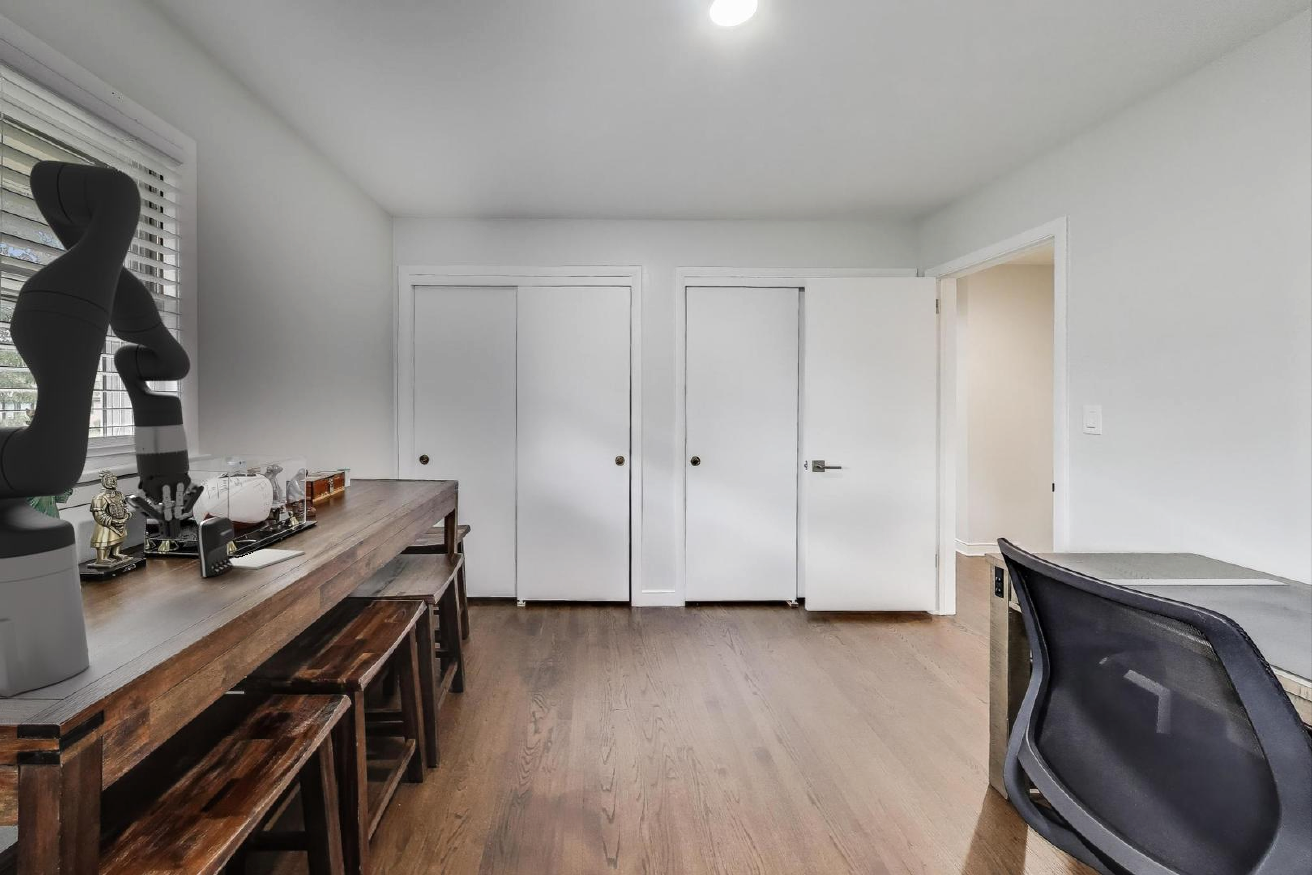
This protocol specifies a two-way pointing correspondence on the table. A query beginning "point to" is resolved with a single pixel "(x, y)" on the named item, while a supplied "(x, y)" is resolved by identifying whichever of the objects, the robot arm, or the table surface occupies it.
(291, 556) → the mat
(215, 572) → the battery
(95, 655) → the table surface
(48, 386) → the robot arm
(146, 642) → the table surface
